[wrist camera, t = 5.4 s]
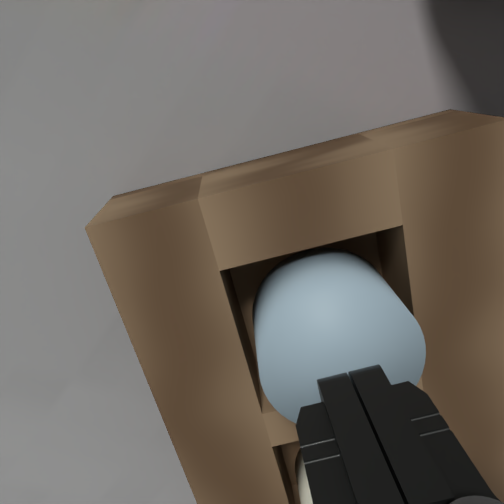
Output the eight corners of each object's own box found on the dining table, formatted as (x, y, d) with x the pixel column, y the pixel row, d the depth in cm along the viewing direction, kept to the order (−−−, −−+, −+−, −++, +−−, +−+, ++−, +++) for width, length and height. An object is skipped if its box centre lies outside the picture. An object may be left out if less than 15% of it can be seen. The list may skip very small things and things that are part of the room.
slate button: (378, 231, 14) (417, 270, 11) (395, 351, 16) (433, 410, 13) (236, 267, 14) (240, 313, 11) (269, 381, 16) (278, 446, 13)
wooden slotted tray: (450, 109, 15) (511, 118, 12) (483, 561, 24) (524, 637, 21) (113, 195, 16) (84, 227, 12) (267, 610, 25) (274, 691, 21)
